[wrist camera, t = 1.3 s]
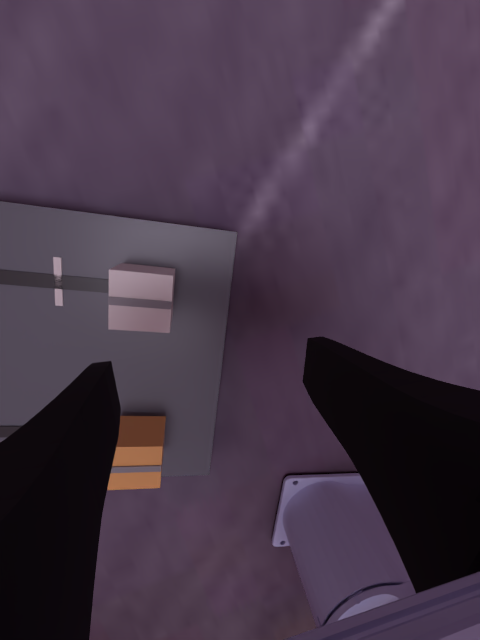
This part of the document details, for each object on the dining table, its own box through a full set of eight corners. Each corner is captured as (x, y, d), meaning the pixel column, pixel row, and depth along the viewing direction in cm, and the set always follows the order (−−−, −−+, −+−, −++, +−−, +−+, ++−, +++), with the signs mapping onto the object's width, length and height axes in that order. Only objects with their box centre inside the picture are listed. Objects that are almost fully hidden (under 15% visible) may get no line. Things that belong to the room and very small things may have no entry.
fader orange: (165, 416, 20) (162, 447, 17) (163, 453, 21) (159, 489, 18) (119, 415, 20) (107, 448, 17) (118, 454, 20) (107, 491, 17)
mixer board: (232, 232, 20) (237, 232, 18) (207, 456, 25) (209, 476, 23) (-134, 184, 16) (-179, 177, 14) (-80, 462, 21) (-108, 486, 19)
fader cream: (175, 268, 18) (173, 276, 15) (172, 317, 18) (169, 333, 15) (121, 263, 17) (108, 269, 14) (120, 313, 18) (107, 330, 15)
